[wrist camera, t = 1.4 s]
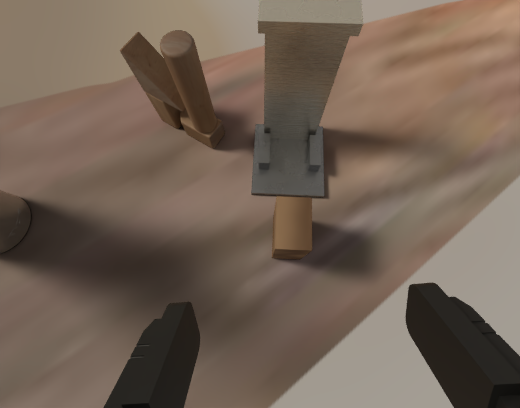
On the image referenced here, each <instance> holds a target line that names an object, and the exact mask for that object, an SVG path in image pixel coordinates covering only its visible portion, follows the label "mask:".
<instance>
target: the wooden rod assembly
mask: <svg viewBox="0 0 520 408" xmlns="http://www.w3.org/2000/svg"><path fill="white" fill-rule="evenodd" d="M160 49H161V52H162V55H163V57H164V58H163V57H162V56H161V55H160V54H159V53H158V52H157V51H156V50H155V48H154V47H153V46H152V45H151V44H150V43H149V42H148V41H147V40H146V39H145V38H144V37H143V36H142V35H141V34H140V33H139V32H137V33H136V34H135V35H134V36H133V37H132V38H131V39H130V40H129V41H128V42H127V43H126V45H125V46H124V47H123V48H122V49H121V50H120V52H121V54H122V55H123V57H124V59H125V60H126V62H127V63H128V65H129V67H130V68H131V70H132V72H133V73H134V75H135V77H136V78H137V80H138V82H139V83H140V85H141V87H142V88H143V90H144V91H145V92H146V94H147V96H148V98H149V99H150V101H151V103H152V104H153V106H154V108H155V109H156V111H157V113H158V114H159V116H160V118H161V119H162V121H164V122H166V123H168V124H169V125H171V126H173V127H175V128H177V129H179V128H180V126H181V125H183V127H184V129H185V131H186V133H187V134H188V135H189V136H191V137H193V138H195V139H196V140H198V141H200V142H202V143H204V144H205V145H207V146H209V147H211V148H213V149H214V148H215V146H216V145H217V144H218V142H219V141H220V140H221V138H222V137H223V135H224V134H225V131H224V127H223V123H222V121H221V120H219V119H217V118H216V117H215V113H214V110H213V106H212V103H211V99H210V95H209V92H208V88H207V85H206V81H205V77H204V74H203V70H202V67H201V63H200V60H199V56H198V53H197V49H196V46H195V42H194V39H193V38H192V36H191V35H190V34H189V33H187V32H185V31H181V30H175V31H171V32H169V33H167V34H166V35H164V36H163V38H162V39H161V42H160Z"/></svg>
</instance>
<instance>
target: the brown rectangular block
mask: <svg viewBox="0 0 520 408" xmlns="http://www.w3.org/2000/svg"><path fill="white" fill-rule="evenodd" d="M311 251H312V198H305V197H282V196H277V198H276V204H275V211H274V217H273V243H272V258H281V259H301V258H303V257H304V256H305V255H307V254H308V253H309V252H311Z"/></svg>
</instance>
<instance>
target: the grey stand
mask: <svg viewBox="0 0 520 408" xmlns="http://www.w3.org/2000/svg"><path fill="white" fill-rule="evenodd" d="M362 26H363V16H362V4H361V0H259V15H258V33H265V93H264V124H256V128H255V143H254V159H253V175H252V191H251V194H252V195H274V196H296V197H319V198H323V197H324V160H323V127H318V126H319V123H320V120H321V117H322V115H323V112H324V109H325V106H326V103H327V100H328V97H329V94H330V92H331V89H332V86H333V83H334V80H335V77H336V74H337V71H338V69H339V66H340V63H341V60H342V57H343V54H344V51H345V48H346V46H347V43H348V40H349V37H350V36H359V34H360V31H361V28H362Z"/></svg>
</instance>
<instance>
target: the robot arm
mask: <svg viewBox="0 0 520 408" xmlns="http://www.w3.org/2000/svg"><path fill="white" fill-rule="evenodd" d="M30 221H31V212H30V209H29V206H28V205H27V203H26V202H25V201H24V200H23V199H21V198H19V197H17V196H14V195H12V194H9V193H6V192H3V191H1V190H0V253H3V252H6V251H8V250H9V249H11V248H13V247H14V246H15V245H16V244H18V243H19V242H20V241H21V239H22V238H23V237H24V235H25V234H26V232H27V230H28V228H29V225H30ZM406 325H407V328H408V331H409V334H410V336H411V337H412V339H413V341H414V342H415V344H416V346H417V347H418V349H419V351H420V352H421V354H422V356H423V357H424V359H425V360H426V362H427V364H428V365H429V367H430V369H431V370H432V372H433V374H434V375H435V377H436V379H437V380H438V382H439V383H440V385H441V387H442V389H443V390H444V392H445V394H446V395H447V397H448V398H449V400H450V402H451V403H452V405H453V406H454V408H520V356H519V355H518V354H517V353H516V352H515V351H514V350H513V349H512V348H511V347H510V346H509V345H508V344H507V343H506V342H505V341H504V340H503V339H502V338H501V337H500V336H499V335H497V334H496V332H495V331H494V330H493V329H492V327H491V326H490V325H489V324H488V323H485V321H484V319H483V318H482V317H481V316H480V315H479V314H478V313H477V312H476V311H475V310H474V309H473V308H472V307H471V306H469V305H467V304H466V303H464V302H462V301H461V300H459V299H458V298H456V297H448V296H447V295H446V294H445V293H444V292H443V290H442V289H441V288H440V287H439V286H438V285H437V284H435V283H424V284H412V285H410V286H409V290H408V300H407V309H406ZM199 346H200V333H199V329H198V325H197V321H196V318H195V314H194V310H193V307H192V304H191V303H190V302H181V303H170V304H169V305H168V306H167V308H166V310H165V313H164V315H163V317H162V319H155V320H154V321H153V322H152V323H151V324H150V325H149V326H148V327H147V328H146V329H145V330H144V331H143V333H142V335H141V337H140V339H139V341H138V343H137V347H135V349H134V351H133V353H132V354H131V358H130V359H129V360H128V362H127V364H126V366H125V368H124V370H123V372H122V374H121V375H120V377H119V379H118V381H117V383H116V385H115V387H114V389H113V391H112V393H111V395H110V397H109V398H108V400H107V402H106V404H105V406H104V408H184V404H185V400H186V397H187V393H188V389H189V385H190V382H191V378H192V374H193V370H194V366H195V363H196V359H197V355H198V351H199Z"/></svg>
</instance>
